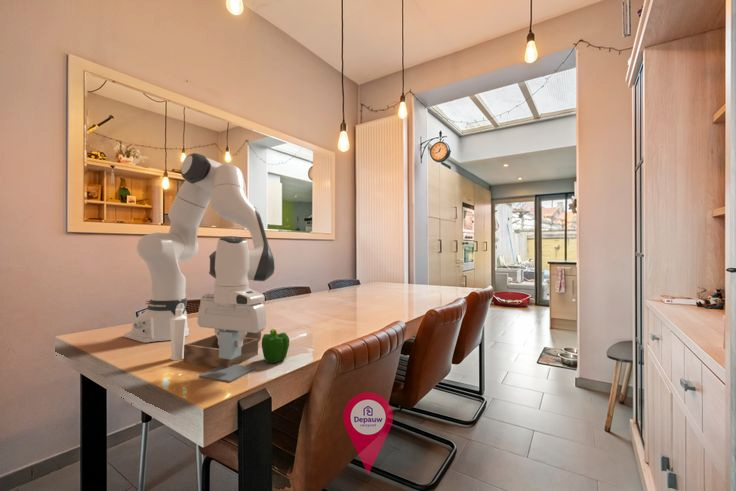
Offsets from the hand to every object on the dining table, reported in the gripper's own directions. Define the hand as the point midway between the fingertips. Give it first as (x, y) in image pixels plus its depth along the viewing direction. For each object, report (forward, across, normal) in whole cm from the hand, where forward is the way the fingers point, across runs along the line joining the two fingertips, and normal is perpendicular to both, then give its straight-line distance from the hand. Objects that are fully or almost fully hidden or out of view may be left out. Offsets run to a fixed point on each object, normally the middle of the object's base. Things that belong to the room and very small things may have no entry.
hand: (230, 345), depth 89 cm
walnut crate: (+7, -10, +9) cm, 15 cm away
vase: (+8, -11, +24) cm, 27 cm away
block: (+3, 0, 0) cm, 3 cm away
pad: (+7, 0, 0) cm, 7 cm away
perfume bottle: (+7, -22, +4) cm, 24 cm away
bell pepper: (+8, +6, +13) cm, 16 cm away
